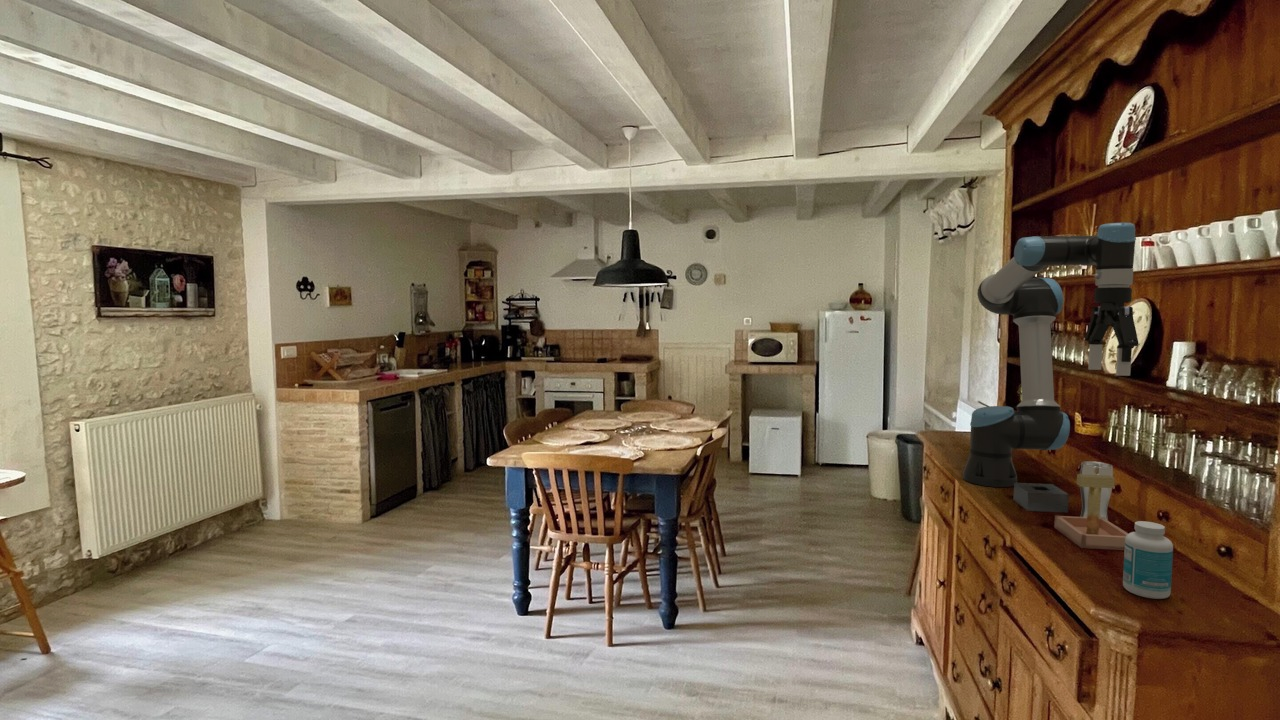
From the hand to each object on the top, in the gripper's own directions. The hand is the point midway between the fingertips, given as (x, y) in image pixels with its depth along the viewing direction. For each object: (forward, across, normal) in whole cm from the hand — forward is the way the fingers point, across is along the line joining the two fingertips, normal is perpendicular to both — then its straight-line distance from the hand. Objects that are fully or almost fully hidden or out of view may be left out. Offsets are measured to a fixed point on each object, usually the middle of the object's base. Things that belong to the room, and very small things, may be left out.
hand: (1108, 372), depth 164 cm
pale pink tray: (+39, +12, -7) cm, 41 cm away
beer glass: (+39, -2, -1) cm, 39 cm away
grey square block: (+39, -13, -9) cm, 42 cm away
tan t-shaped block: (+38, +12, -7) cm, 40 cm away
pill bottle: (+39, +42, -11) cm, 58 cm away
